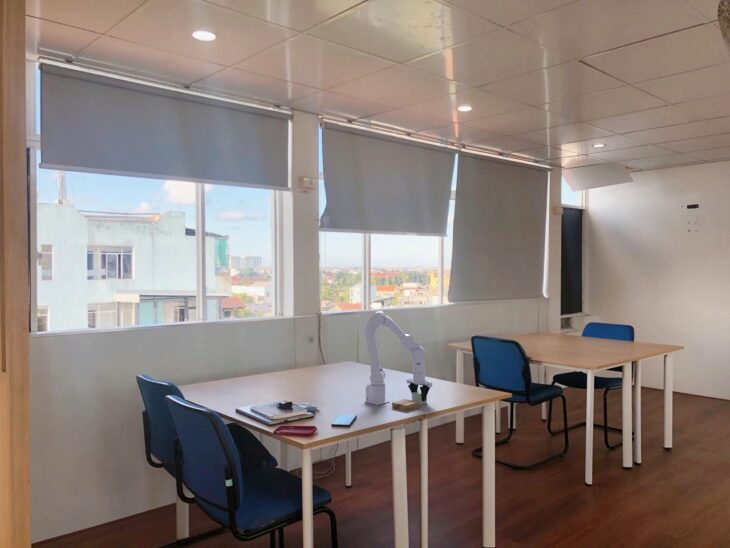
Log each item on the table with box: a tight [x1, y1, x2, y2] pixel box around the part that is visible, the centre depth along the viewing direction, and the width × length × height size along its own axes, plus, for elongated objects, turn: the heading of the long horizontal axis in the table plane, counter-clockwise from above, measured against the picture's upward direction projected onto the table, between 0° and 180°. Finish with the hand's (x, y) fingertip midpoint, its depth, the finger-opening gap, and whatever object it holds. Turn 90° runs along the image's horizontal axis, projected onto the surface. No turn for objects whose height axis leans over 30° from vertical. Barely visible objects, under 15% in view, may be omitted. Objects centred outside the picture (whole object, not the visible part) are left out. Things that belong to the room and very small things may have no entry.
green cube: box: [411, 390, 428, 406], centre depth 278 cm, size 5×5×5 cm
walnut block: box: [391, 398, 421, 413], centre depth 269 cm, size 9×9×3 cm
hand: (419, 400), depth 278 cm, fingers closed on green cube, 5 cm apart
